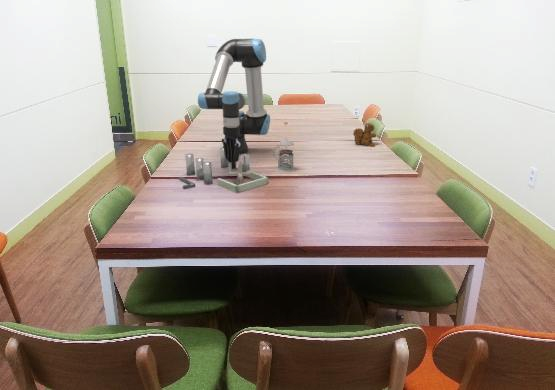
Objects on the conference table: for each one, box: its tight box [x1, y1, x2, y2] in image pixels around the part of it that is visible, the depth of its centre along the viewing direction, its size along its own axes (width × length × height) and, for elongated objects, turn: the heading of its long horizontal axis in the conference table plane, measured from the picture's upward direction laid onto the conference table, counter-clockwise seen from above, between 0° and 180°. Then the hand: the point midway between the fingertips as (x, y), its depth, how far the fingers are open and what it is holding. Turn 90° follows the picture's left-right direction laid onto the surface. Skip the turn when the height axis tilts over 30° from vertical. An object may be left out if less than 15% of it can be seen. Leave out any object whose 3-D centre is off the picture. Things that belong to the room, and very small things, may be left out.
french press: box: [272, 121, 296, 173], centre depth 229 cm, size 10×12×25 cm
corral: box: [216, 170, 269, 194], centre depth 212 cm, size 19×15×3 cm
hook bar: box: [178, 176, 196, 190], centre depth 213 cm, size 14×6×1 cm, turn 38°
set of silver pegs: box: [184, 147, 251, 185], centre depth 226 cm, size 26×23×10 cm
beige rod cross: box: [227, 162, 250, 185], centre depth 211 cm, size 10×10×10 cm
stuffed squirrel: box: [352, 122, 377, 147], centre depth 278 cm, size 10×14×13 cm
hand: (232, 174), depth 215 cm, fingers closed
